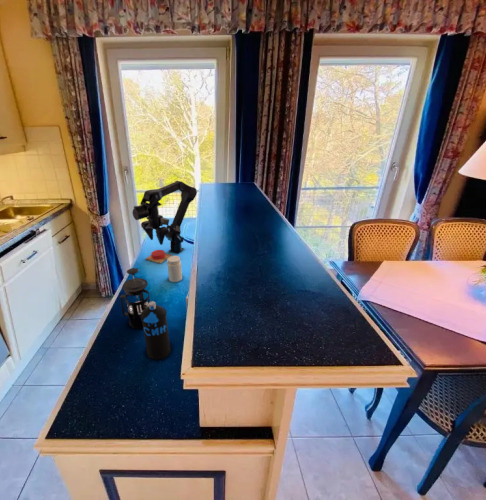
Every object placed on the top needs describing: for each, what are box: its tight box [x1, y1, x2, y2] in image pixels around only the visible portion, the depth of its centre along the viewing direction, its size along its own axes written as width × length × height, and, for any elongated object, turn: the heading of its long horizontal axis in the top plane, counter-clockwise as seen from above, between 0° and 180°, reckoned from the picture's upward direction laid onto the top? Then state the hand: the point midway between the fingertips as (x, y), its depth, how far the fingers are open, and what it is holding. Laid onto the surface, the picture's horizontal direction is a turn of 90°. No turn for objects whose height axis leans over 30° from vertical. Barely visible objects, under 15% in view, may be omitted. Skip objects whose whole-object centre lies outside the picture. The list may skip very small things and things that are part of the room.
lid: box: [150, 249, 166, 260], centre depth 156 cm, size 8×8×2 cm
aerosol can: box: [139, 300, 172, 361], centre depth 91 cm, size 8×8×20 cm
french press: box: [119, 267, 151, 330], centre depth 104 cm, size 12×9×23 cm
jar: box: [166, 255, 183, 283], centre depth 134 cm, size 7×7×11 cm
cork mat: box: [145, 252, 172, 264], centre depth 157 cm, size 10×10×1 cm
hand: (156, 242), depth 152 cm, fingers open, 9 cm apart
